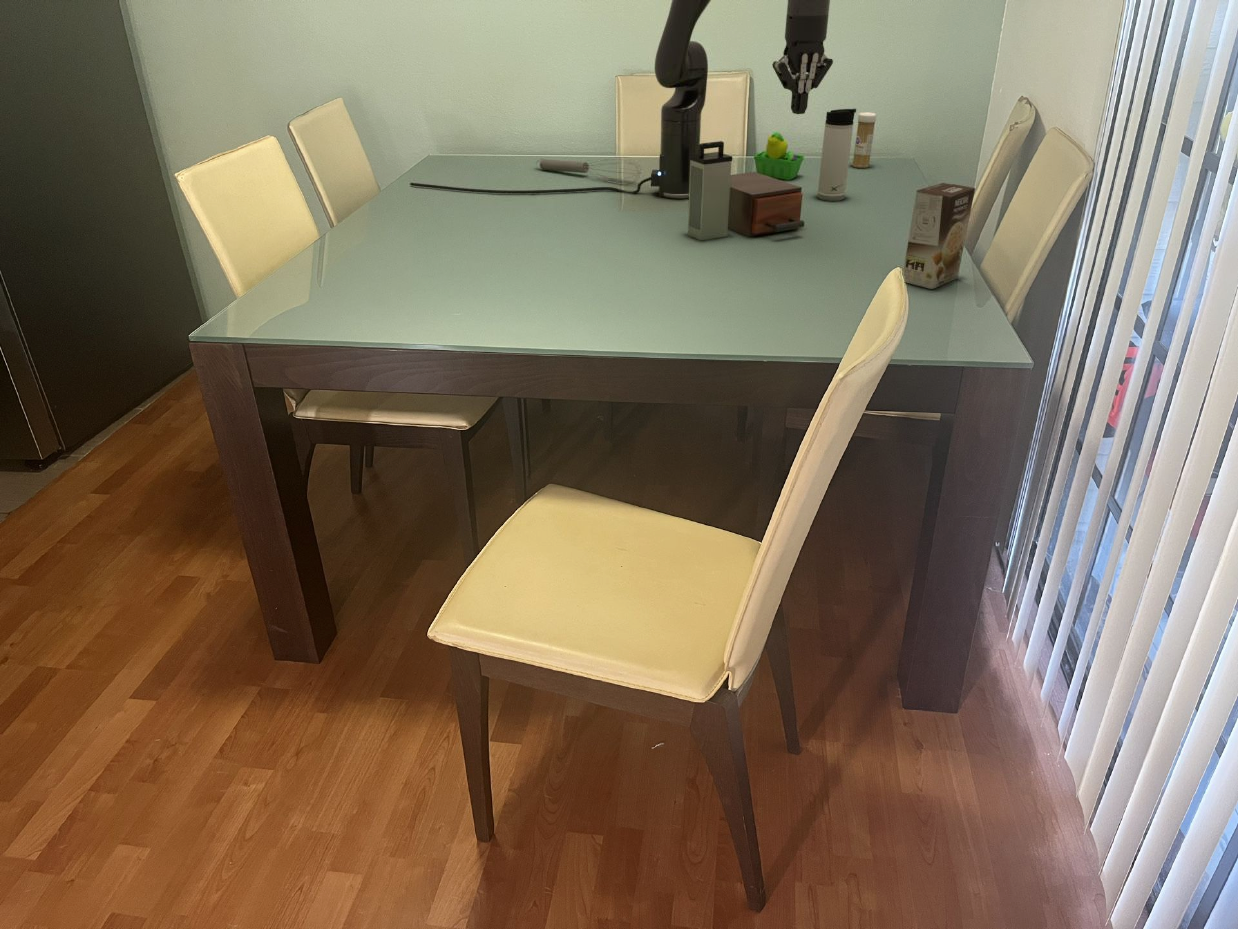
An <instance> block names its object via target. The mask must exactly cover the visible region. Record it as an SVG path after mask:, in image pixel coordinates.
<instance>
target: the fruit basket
mask: <svg viewBox="0 0 1238 929" xmlns="http://www.w3.org/2000/svg"><path fill="white" fill-rule="evenodd" d="M788 147H789V144H788V141H787V140H786V139H785V138H784V137H783V135H782V133H780V132H778V131H777V132H776V131H775V132H774V133H772V134H770V135H769V137H768V138H767V143H766V148H765V150H764V151H761V152H759V153H756V154H754V155H753V160H754V163H755V170H756V173H759V174H762V175H765V176H769V177H772V178H775V179H778V180H783V181H784V180H785V181H790V180H793V179H794V178H796V177H798V174H799V171H800V168H801V165H802V164H803V161H804V159H805V155H801V154H794V153H793V152H792V151H789V150H788ZM787 150H788V152H787Z"/></svg>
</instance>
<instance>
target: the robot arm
mask: <svg viewBox="0 0 1238 929" xmlns="http://www.w3.org/2000/svg"><path fill="white" fill-rule="evenodd" d="M710 2H712V0H671V4H670V8H669V11H668V15H667V18H666V21H665V24H664V28H663V31H662V34H661V37H660V40H659V44H658V46H657V50H656V54H655V59H654V75H655V78H656V82H657V83H658V84H659V85H660V86H661V87H663V88H665V89H674V92H673V94H672V96H671V97H670V98H669V99H668V100H667V101H666V102H664V103H663V104H662V106H661V107H660V108H661V109H660V148H659V149H660V150H659V151H660V152H659V157H658V158H659V161H658V163H659V164H658V165H659V166H658V167H659V168H658V169H652V170H651V173H650V176H649V177H646V178H644V179H643V180H641V181H640V182H639V183H638V185H637V187H636V188H637V189H636V190H634V191H627V190H623V189H621V188H618V187H613V186H594V187H593V186H592V187H579V188H577V187H576V188H562V189H561V188H559V189H533V190H532V189H531V190H530V189H529V190H527V189H526V190H520V189H519V190H515V189H514V190H513V189H512V190H510V189H509V190H506V189H505V190H504V189H503V190H502V189H501V190H500V189H481V188H467V187H466V188H465V187H457V186H447V185H437V184H428V183H419V182H410V183H409V185H410V186H412V187H421V188H431V189H439V190H440V189H441V190H447V191H448V190H449V191H458V192H459V191H460V192H470V193H471V192H472V193H485V194H509V195H510V194H511V195H513V194H516V195H517V194H518V195H519V194H521V195H522V194H527V195H528V194H556V193H557V194H559V193H575V192H592V191H614V192H617V193H624V194H632V195H636V194H638V193H639V192H640V191H641V188H642V185H643V184H644V183H648V182H650V187H658V197H661V198H666V199H667V198H668V199H678V200H680V199H681V200H682V199H689V184H690V155H696V154H699V145H700V144H701V130H702V128H701V127H702V112H703V109H704V107H705V104H706V97H707V86H708V75H709V74H708V73H709V60H708V55H707V52H706V49H705V48H704V46H703V44H701V43H700V42H698V41H694V40H691V39H692V35H693V32H694V30H695V27H696V25H697V24H698V21H699V20H700V18H701V16H702V14H704V11H705V10H706V9H707V7H708V6H709V4H710ZM830 6H831V0H787V4H786V16H785V17H786V18H785V30H784V31H785V32H784V40H785V43H786V44H785V47H784V49H783V52H782V54H783V55H782V56H781V57H780V58H779V60H778V61H777V60H774V61H773V62H772V65H771V67H772V68H773V70H774V72H775V74H776V76H777V78H778V80H779V81H780V84H781V86H782V88H783V89H784V90H788V91H790V92H791V102H790V109H791V112H792V114H794V115H803V114H804V115H805V113H806V111H807V109H808V104H809V94H810V92H811V91H812V90H814V89H818V87H819V86H820V85H821V83H822V81H823V80H824V78H825V76H826V75H827V74H828V72H829V70H830V69H831V68H832V65H833V64H834V59H832V58H829V57H828V56H827V55H826V54H825V47H824V46H825V45H824V42H826V40H827V33H828V25H829V16H830V15H829V14H830Z"/></svg>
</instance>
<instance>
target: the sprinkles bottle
mask: <svg viewBox="0 0 1238 929" xmlns="http://www.w3.org/2000/svg"><path fill="white" fill-rule="evenodd" d="M876 121H877V114H876V113H874V112H868V111H867V112H859V113H858V115H857V130H856V137H855V142H854V150H853V158H852V159H853V160H852V163H851V165H852V167H854V168H858V169H865V168H869V167H870V160H871V154H872V147H873V140H874V132H875V124H876Z"/></svg>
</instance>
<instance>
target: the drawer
mask: <svg viewBox="0 0 1238 929" xmlns="http://www.w3.org/2000/svg"><path fill="white" fill-rule="evenodd" d="M803 194H804V193H803V192H801V193H800V192H797V193H786V194H780V195H773V196H766V197H760V198H755V199H754V211H753V225H752V233H755V234H757V233H763V232H769V231H774V232H776V233H778V232H777V231H782V232H784V231H783V230H787V231H790V230H789V229H793V230H796V229H795V228H798V229H800V228H804V227H805V221H804V220H803V219H801V216H802V205H803Z"/></svg>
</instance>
